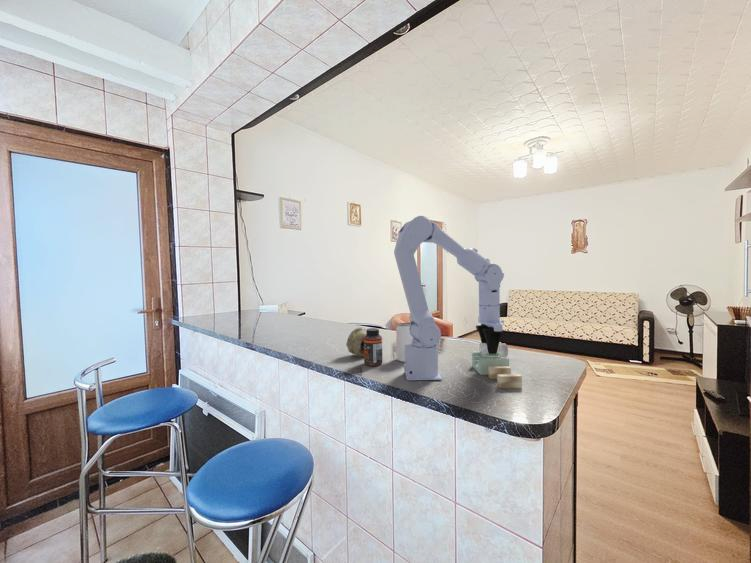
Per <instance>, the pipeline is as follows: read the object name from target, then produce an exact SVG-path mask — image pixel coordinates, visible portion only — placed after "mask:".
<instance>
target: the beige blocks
mask: <svg viewBox="0 0 751 563" xmlns="http://www.w3.org/2000/svg"><path fill="white" fill-rule="evenodd" d="M487 376H488V379H490V380H497V382H496V385H497V388H499V389H523V376H522V375H521V374H519V373H513V374H512V368H511V367H510V365H509V366H492V367H488V375H487Z"/></svg>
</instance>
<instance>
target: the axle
mask: <svg viewBox="0 0 751 563" xmlns="http://www.w3.org/2000/svg"><path fill="white" fill-rule="evenodd" d="M478 352H479V353H480V356H481V357H501V358H508V354H509V348H508V345H507V344H506V343H501V342H499V346H498V350H497V353H496V354H489V353H488V349H487V343H481V342H480V343H479V346H478Z"/></svg>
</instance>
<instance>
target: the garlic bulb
mask: <svg viewBox="0 0 751 563" xmlns="http://www.w3.org/2000/svg"><path fill="white" fill-rule="evenodd" d="M366 332H367V329H366V328H362V327H360V326H359V327H356V328H355V329H353V330H352V331H351V332H350V334H348V338H347V340H346V343H345V345H346V347H347V349H348V350H347V351H348V352H349V353H351V354H352V355H355V356H357V357H360V358H361V357H362V356H363V357H364V337H365V336H366V334H367V333H366Z"/></svg>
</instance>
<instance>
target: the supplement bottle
mask: <svg viewBox="0 0 751 563" xmlns="http://www.w3.org/2000/svg"><path fill="white" fill-rule="evenodd" d="M366 331H367V332H366V333H367V334H366V336H365V337H364V356H363V362H364V365H366V366H368V367H377V366H381V365H382V364H383V337H382V336H381V335H380V334H379V333H380V329H379V328H377V327H370V328H367V329H366Z"/></svg>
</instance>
